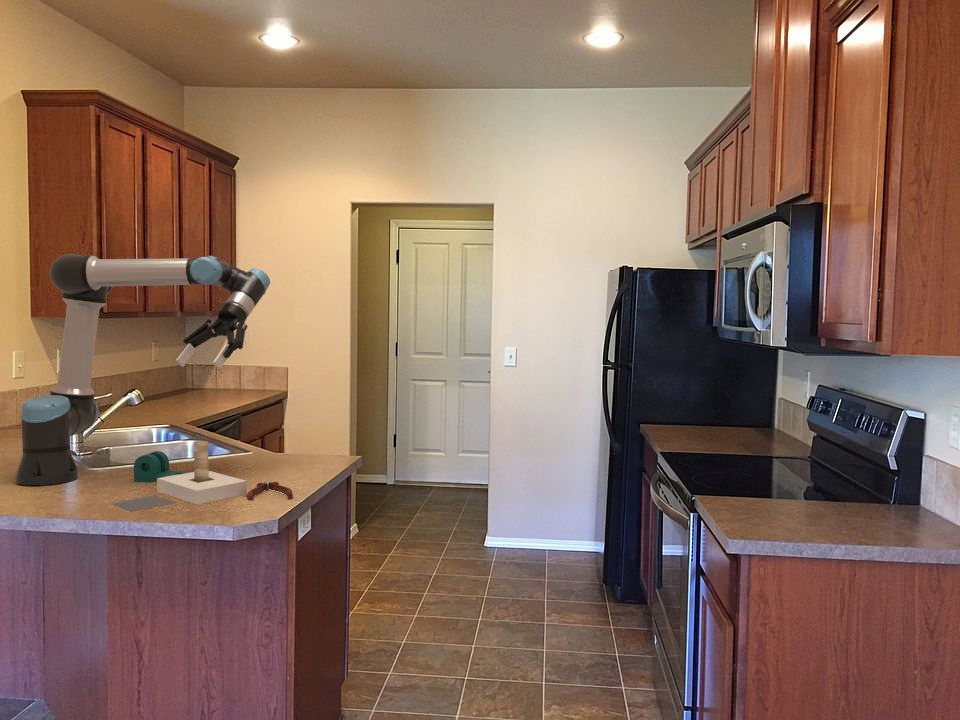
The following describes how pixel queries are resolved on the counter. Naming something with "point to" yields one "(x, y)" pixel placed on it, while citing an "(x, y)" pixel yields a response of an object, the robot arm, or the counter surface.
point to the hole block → (202, 487)
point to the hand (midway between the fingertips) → (197, 364)
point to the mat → (143, 503)
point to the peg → (201, 461)
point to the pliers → (270, 485)
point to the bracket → (153, 467)
